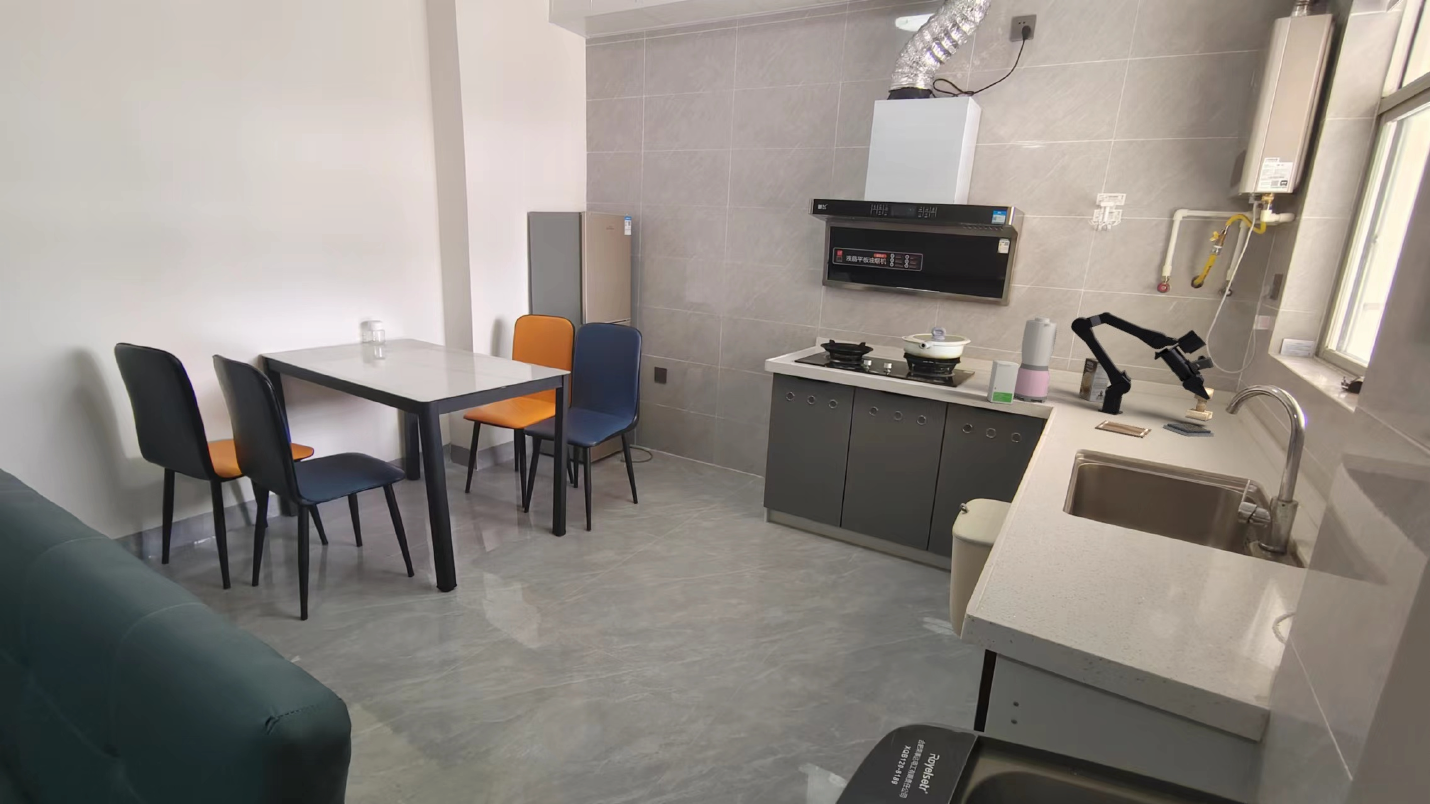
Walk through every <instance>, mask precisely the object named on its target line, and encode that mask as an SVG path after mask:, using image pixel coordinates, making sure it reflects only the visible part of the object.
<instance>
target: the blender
mask: <svg viewBox="0 0 1430 804" xmlns="http://www.w3.org/2000/svg"><path fill="white" fill-rule="evenodd" d="M1050 320H1051V318H1049V317H1041V316H1038V317H1037V316H1035V317H1034V319H1027V320H1026V323H1025V325H1024V326H1025V327H1024V330H1023V336H1022V342H1021V362H1020V363H1021V364H1019V368H1018V374H1017V379H1016V385H1015V391H1014V396H1013V397H1017V398H1022V399H1023V401H1024V402H1025V403H1030V402H1031V400H1036V401H1040V403H1043V402H1044V403H1045V402H1046V400H1047V398H1048V396H1047V394H1048V390H1049V384H1050V379H1051V375H1050V371H1049V363H1050V361H1051V358H1052V354H1053V352H1054V349H1055V345H1056V339H1057V338H1056V337H1057V329H1058V323H1057V322H1055V321H1050Z"/></svg>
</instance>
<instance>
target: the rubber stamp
mask: <svg viewBox="0 0 1430 804" xmlns="http://www.w3.org/2000/svg"><path fill="white" fill-rule="evenodd" d="M1204 388H1205V390H1206V392H1207V393H1208V395H1209V397H1210V399H1208V400H1206V399H1204V398H1202V397H1200V396H1198V395H1196V394H1194V396H1193V398H1194V399H1195V400H1197V401H1196V402H1197V403H1196V405H1195V408H1189V409H1187V410H1186V413H1185V416H1184V417H1185V418H1186V419H1192V420H1197V421H1200V422H1208V421H1210V420H1212V417H1213V411H1207V410H1206V407H1207V402H1211V401H1212V400H1213V395H1214V391H1215V389H1214V388H1211V387H1207V386H1206V387H1205V386H1204Z"/></svg>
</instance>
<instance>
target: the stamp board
mask: <svg viewBox="0 0 1430 804" xmlns="http://www.w3.org/2000/svg"><path fill="white" fill-rule="evenodd" d="M1094 429H1095V430H1100V431H1106V432H1111V433H1116V434H1121V435H1126V436H1131V437H1134V438H1135V437H1136V438H1139V437H1141V438H1140V439H1144V438H1145V437H1146V436H1147V435H1149V433H1150V432H1152V429H1151V428H1146V427H1141V426H1135V425H1130V424H1126V423H1120V422H1117V421H1116V422H1114V421H1110V420H1104V421H1102V422H1101V423H1100V424H1098V425H1096V426H1095V428H1094ZM1145 435H1146V436H1145ZM1143 437H1144V438H1143Z"/></svg>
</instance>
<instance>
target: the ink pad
mask: <svg viewBox="0 0 1430 804" xmlns="http://www.w3.org/2000/svg"><path fill="white" fill-rule="evenodd" d="M1163 429H1166V430H1169V431H1172V432H1174V433H1177V434H1180V435H1183V436H1185V437H1214V435H1215V433H1213V432H1211V431H1212V430H1209V429H1207V428H1205V427H1200V426H1197V425H1195V424H1192V423H1171V422H1170V423H1167V424H1163Z"/></svg>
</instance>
